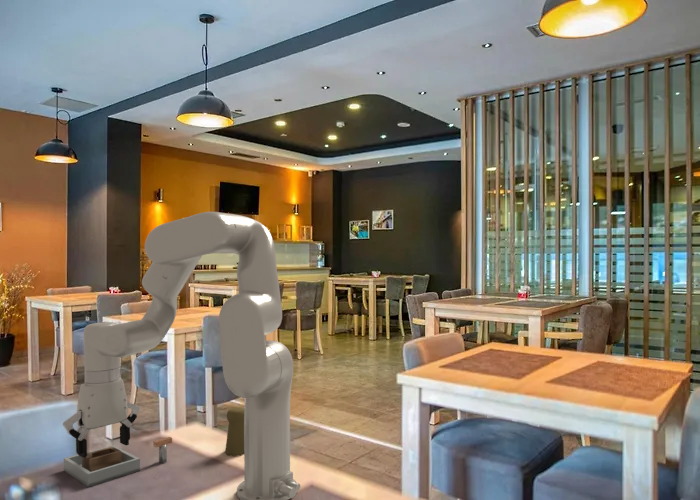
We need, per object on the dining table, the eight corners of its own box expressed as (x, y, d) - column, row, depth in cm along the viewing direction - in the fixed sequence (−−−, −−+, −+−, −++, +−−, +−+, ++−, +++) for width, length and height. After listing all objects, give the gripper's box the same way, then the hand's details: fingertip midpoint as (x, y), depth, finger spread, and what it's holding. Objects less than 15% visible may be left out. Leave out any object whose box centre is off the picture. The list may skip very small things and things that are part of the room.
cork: (235, 457, 131) (235, 413, 131) (220, 452, 135) (219, 408, 135) (254, 450, 136) (254, 407, 136) (238, 445, 139) (238, 403, 139)
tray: (139, 470, 123) (139, 458, 123) (88, 487, 115) (88, 474, 115) (113, 456, 132) (113, 444, 132) (63, 470, 124) (63, 458, 124)
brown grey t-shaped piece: (172, 460, 129) (172, 438, 129) (156, 465, 126) (156, 442, 126) (168, 458, 131) (168, 436, 131) (152, 463, 127) (152, 441, 128)
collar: (112, 461, 128) (112, 443, 128) (121, 466, 124) (121, 447, 124) (81, 469, 122) (81, 451, 122) (90, 475, 119) (90, 456, 119)
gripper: (131, 367, 133) (132, 436, 132) (56, 381, 120) (57, 457, 119) (145, 371, 128) (147, 442, 127) (69, 385, 115) (71, 465, 114)
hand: (104, 449), depth 123 cm, fingers open, 9 cm apart
